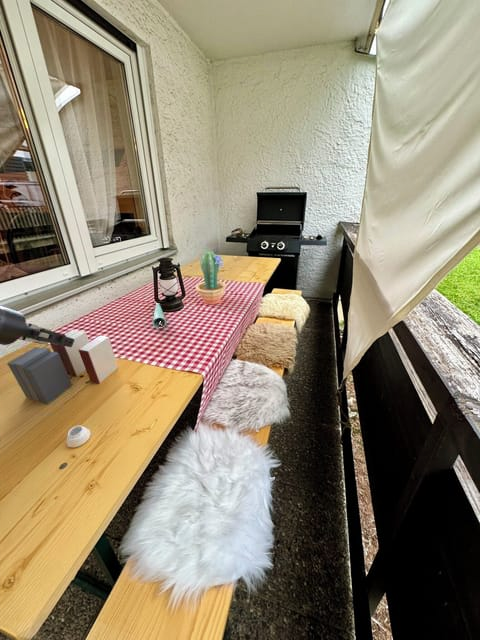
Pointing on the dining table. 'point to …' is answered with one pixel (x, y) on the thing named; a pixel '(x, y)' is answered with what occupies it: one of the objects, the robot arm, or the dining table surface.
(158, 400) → the dining table surface
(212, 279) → the potted cactus
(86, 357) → the ivory book
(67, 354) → the ivory books
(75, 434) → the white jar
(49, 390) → the grey books
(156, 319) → the long green cone
